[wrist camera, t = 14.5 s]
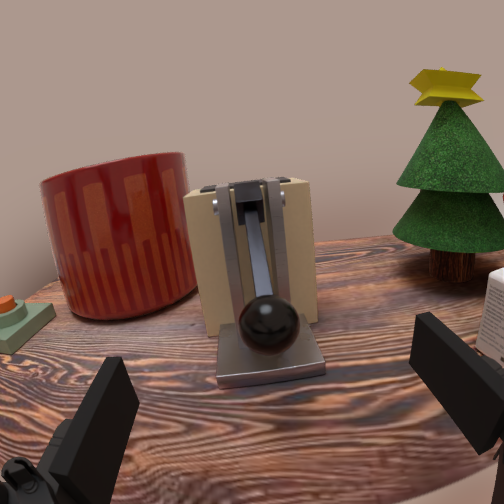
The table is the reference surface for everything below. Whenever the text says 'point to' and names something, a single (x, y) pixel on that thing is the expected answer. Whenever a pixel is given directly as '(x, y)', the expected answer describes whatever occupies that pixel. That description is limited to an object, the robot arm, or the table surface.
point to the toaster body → (213, 259)
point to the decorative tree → (452, 181)
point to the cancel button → (7, 304)
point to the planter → (121, 235)
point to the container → (493, 319)
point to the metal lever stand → (230, 344)
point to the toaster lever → (262, 284)
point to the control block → (23, 324)
